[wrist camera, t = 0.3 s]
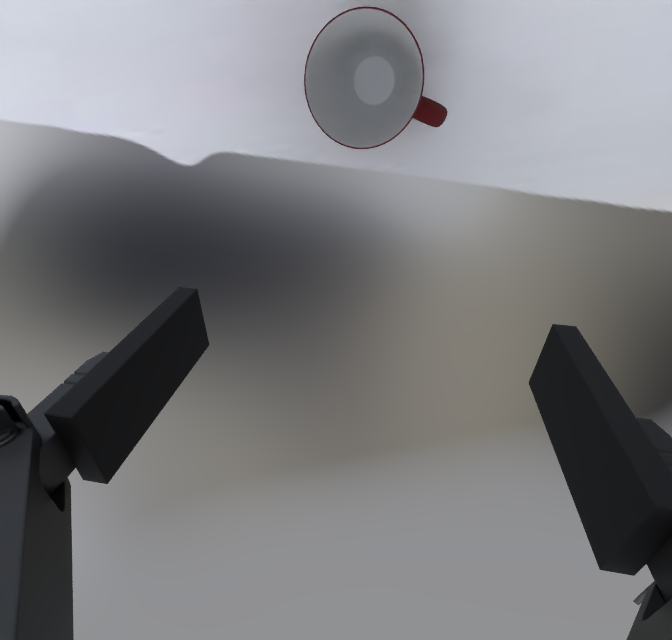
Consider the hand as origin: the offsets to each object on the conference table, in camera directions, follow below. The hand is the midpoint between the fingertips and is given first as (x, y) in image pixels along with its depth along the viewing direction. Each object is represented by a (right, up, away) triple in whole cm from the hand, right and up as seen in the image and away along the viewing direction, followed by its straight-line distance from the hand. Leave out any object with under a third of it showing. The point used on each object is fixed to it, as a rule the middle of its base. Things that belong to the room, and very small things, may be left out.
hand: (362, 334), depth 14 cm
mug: (+4, +21, +19) cm, 29 cm away
